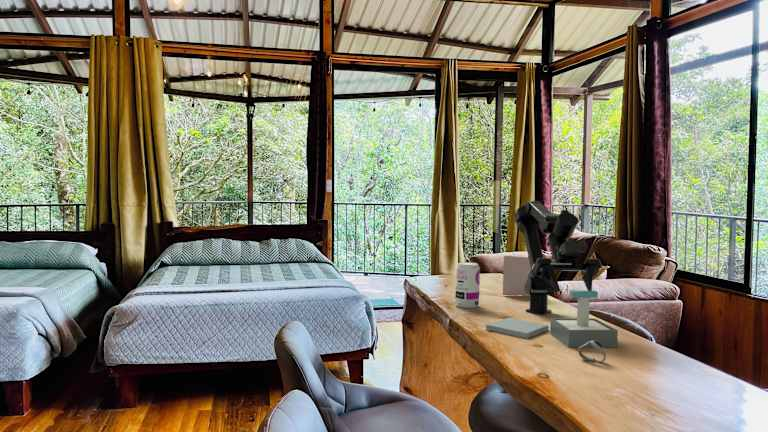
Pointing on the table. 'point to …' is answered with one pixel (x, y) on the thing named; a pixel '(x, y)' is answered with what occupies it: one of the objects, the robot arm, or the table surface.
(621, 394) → the table surface
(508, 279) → the greeting card
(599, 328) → the cover
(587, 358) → the wristwatch
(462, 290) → the supplement can
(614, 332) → the housing
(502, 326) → the pad
